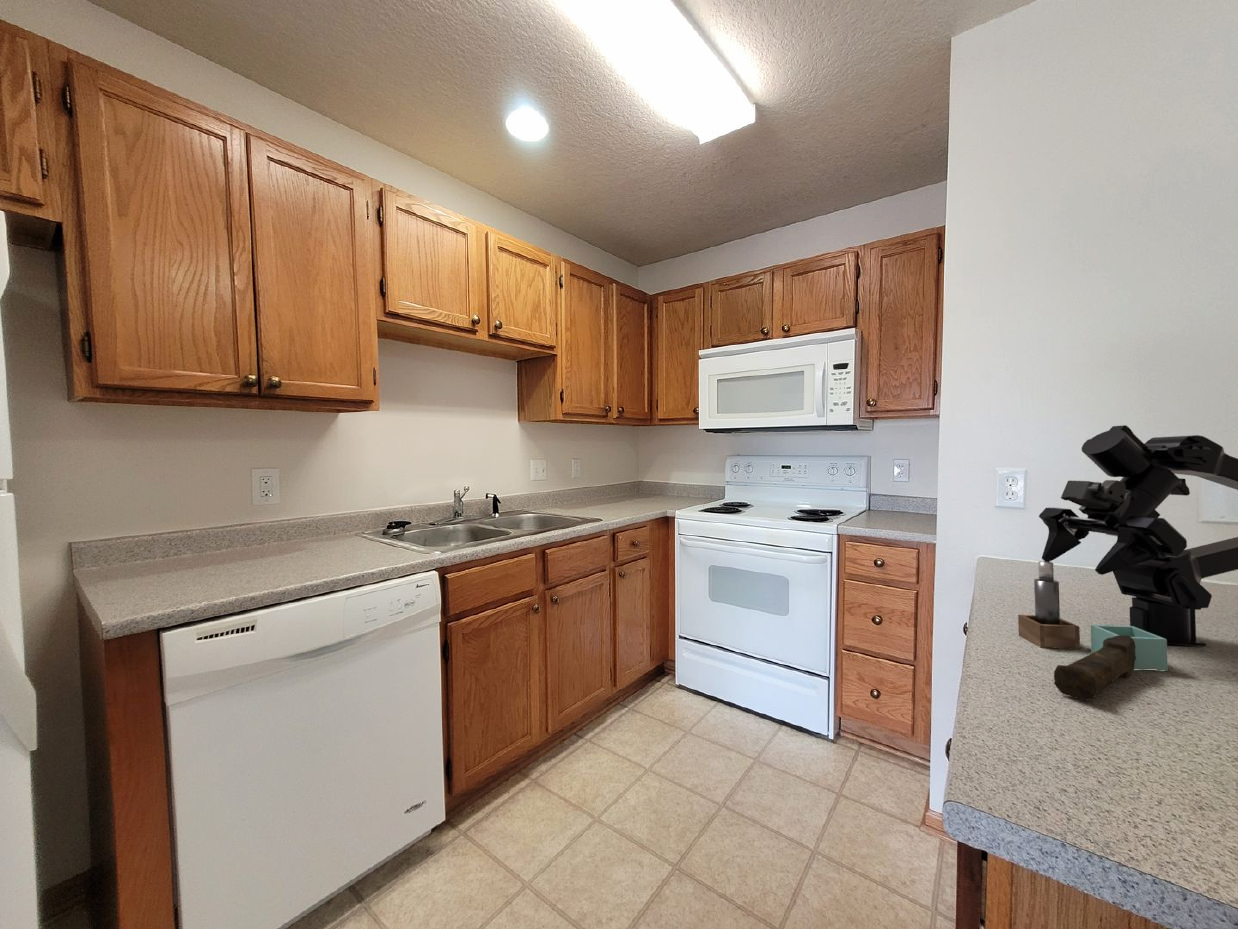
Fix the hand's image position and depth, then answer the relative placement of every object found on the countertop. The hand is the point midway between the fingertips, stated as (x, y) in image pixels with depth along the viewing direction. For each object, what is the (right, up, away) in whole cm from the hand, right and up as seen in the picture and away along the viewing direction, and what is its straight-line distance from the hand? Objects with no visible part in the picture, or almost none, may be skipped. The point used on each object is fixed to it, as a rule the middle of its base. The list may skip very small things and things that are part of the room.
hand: (1069, 566), depth 77 cm
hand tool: (-9, -13, -14) cm, 21 cm away
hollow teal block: (0, -12, -8) cm, 15 cm away
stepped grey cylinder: (-4, -12, 0) cm, 13 cm away
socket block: (-4, -12, 0) cm, 13 cm away
